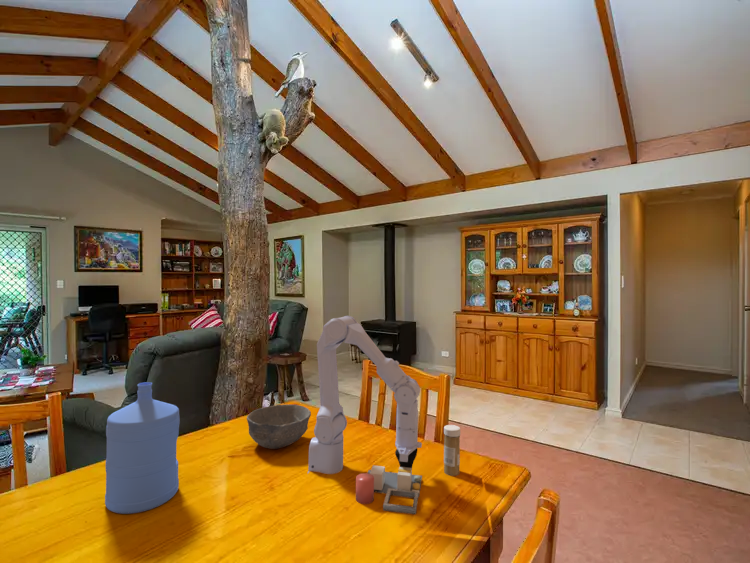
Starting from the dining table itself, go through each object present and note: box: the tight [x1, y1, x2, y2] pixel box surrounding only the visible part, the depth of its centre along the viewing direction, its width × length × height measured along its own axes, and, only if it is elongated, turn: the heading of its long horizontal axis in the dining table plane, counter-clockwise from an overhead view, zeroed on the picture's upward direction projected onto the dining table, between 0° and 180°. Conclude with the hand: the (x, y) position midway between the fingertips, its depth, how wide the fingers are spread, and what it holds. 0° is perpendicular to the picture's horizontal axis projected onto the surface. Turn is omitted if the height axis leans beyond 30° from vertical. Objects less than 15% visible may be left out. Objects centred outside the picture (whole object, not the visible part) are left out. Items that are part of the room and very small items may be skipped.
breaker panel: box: [367, 469, 423, 498], centre depth 104 cm, size 15×11×2 cm
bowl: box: [246, 404, 312, 450], centre depth 130 cm, size 21×21×10 cm
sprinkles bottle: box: [443, 424, 461, 477], centre depth 111 cm, size 5×5×14 cm
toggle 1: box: [370, 464, 386, 490], centre depth 102 cm, size 3×4×4 cm
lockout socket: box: [382, 488, 419, 515], centre depth 95 cm, size 8×8×2 cm
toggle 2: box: [397, 466, 413, 491], centre depth 101 cm, size 3×4×4 cm
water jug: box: [104, 381, 181, 515], centre depth 97 cm, size 16×16×28 cm
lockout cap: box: [355, 472, 375, 505], centre depth 96 cm, size 4×4×6 cm
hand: (406, 476), depth 105 cm, fingers closed
